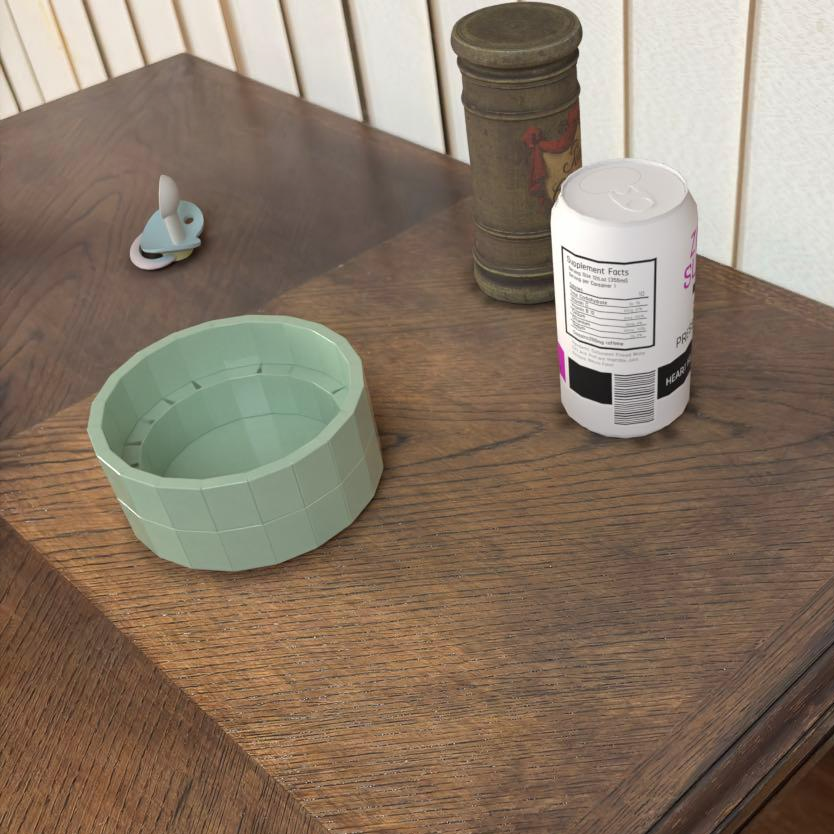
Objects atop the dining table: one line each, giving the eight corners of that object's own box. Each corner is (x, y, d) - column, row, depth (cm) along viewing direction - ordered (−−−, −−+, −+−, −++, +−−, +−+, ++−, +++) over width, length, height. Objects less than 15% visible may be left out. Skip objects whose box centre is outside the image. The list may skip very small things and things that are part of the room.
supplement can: (539, 390, 71) (523, 179, 60) (646, 350, 73) (649, 139, 62) (600, 461, 65) (594, 244, 55) (713, 415, 68) (729, 198, 57)
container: (465, 304, 78) (431, 54, 65) (486, 239, 84) (459, -2, 71) (587, 307, 77) (578, 53, 64) (599, 241, 83) (593, -4, 70)
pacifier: (128, 282, 83) (204, 270, 83) (96, 209, 79) (177, 196, 79) (138, 234, 88) (210, 222, 88) (109, 163, 84) (185, 151, 84)
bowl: (88, 568, 62) (39, 481, 57) (184, 398, 72) (151, 311, 67) (347, 584, 60) (321, 495, 55) (408, 406, 70) (390, 317, 65)
